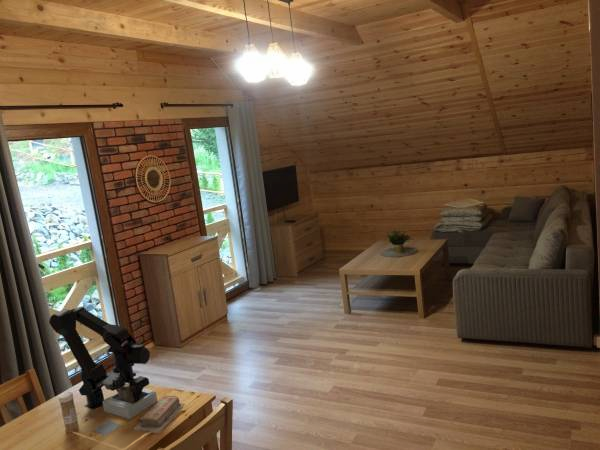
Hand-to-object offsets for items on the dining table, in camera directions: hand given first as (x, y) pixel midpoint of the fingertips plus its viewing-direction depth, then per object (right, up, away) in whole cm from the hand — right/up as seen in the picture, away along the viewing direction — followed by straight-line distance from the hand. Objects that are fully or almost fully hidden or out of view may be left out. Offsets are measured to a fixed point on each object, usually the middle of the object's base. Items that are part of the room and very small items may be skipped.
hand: (130, 401), depth 196 cm
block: (0, -2, 0) cm, 2 cm away
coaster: (-4, -5, -13) cm, 15 cm away
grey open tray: (0, -2, 0) cm, 2 cm away
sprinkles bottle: (-17, -7, -10) cm, 21 cm away
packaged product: (+14, -3, -9) cm, 17 cm away
